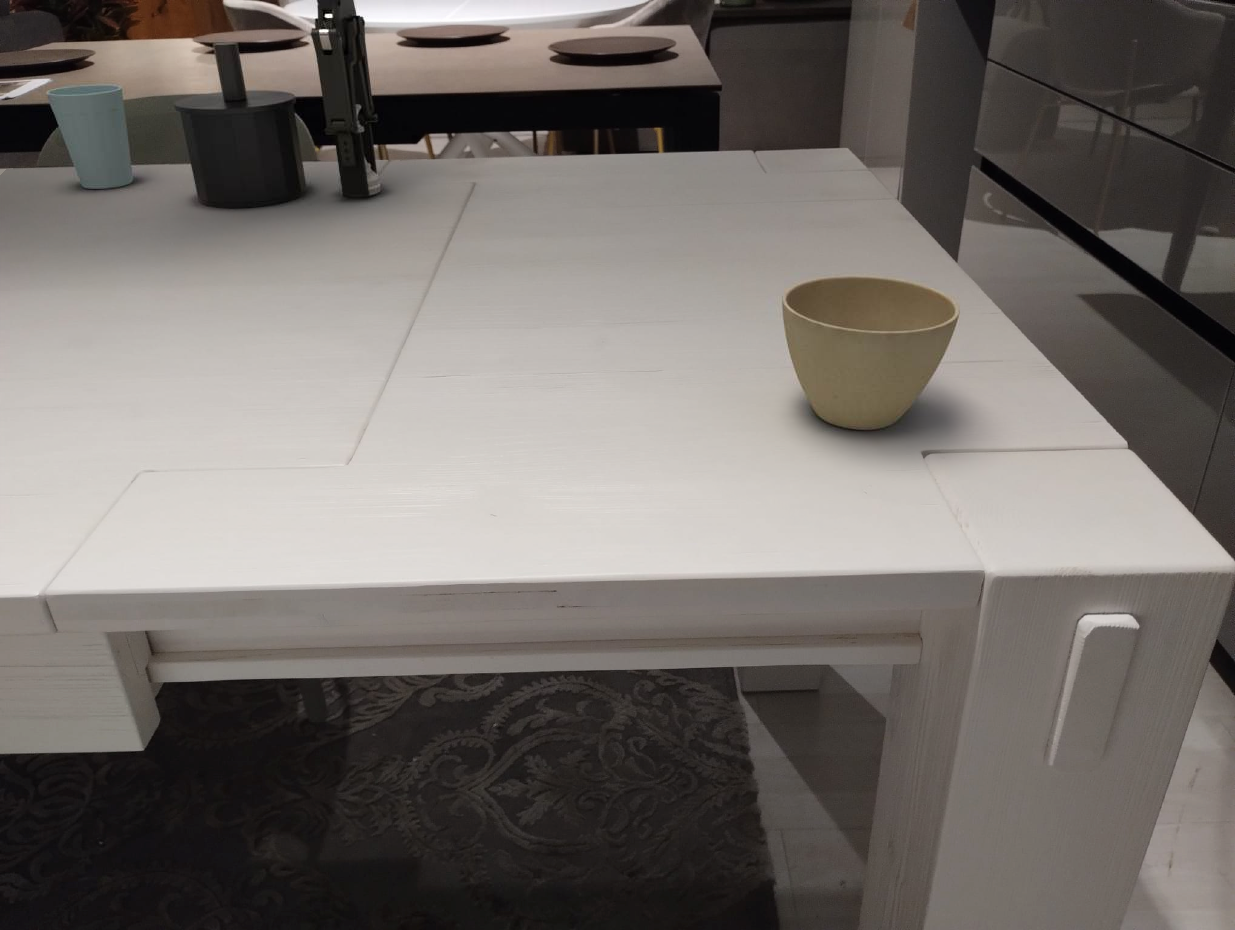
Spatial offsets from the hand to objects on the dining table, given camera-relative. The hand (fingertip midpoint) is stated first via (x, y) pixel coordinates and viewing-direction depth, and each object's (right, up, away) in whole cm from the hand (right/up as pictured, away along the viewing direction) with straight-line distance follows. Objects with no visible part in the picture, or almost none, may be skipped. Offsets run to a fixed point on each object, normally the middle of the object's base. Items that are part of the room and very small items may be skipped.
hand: (360, 189), depth 112 cm
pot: (-12, -1, 0) cm, 12 cm away
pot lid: (-12, +8, -4) cm, 15 cm away
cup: (-31, +2, +6) cm, 32 cm away
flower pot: (+43, -27, -50) cm, 71 cm away
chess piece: (0, 0, 0) cm, 0 cm away
